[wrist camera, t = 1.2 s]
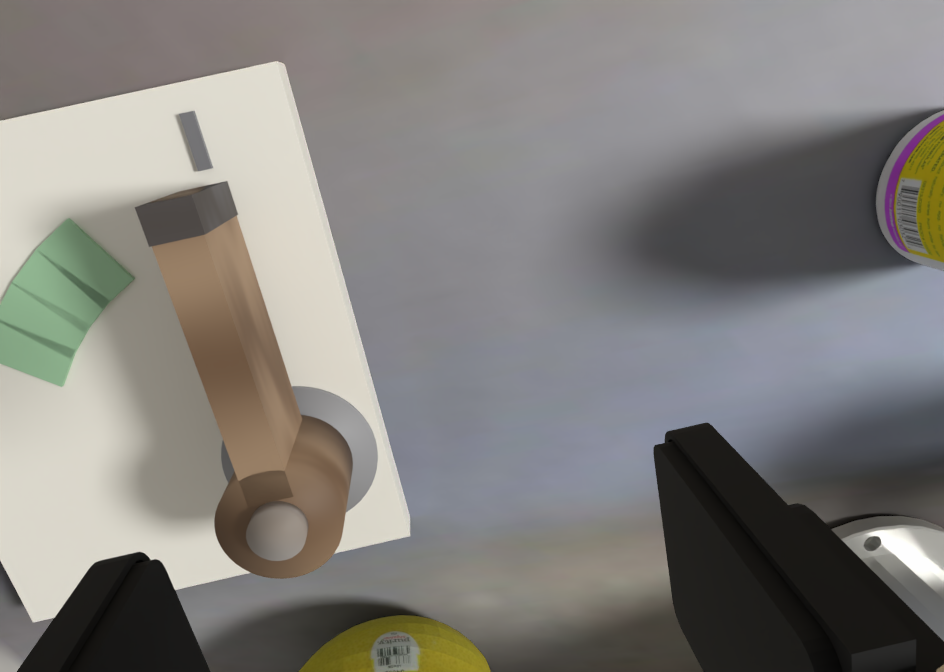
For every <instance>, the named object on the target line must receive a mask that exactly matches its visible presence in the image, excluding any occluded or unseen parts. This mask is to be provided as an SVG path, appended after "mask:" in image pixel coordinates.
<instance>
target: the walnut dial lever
mask: <svg viewBox="0 0 944 672" xmlns="http://www.w3.org/2000/svg"><path fill="white" fill-rule="evenodd" d="M135 210H136V213H137V215H138V218H139V221H140V223H141V226H142V229H143V231H144V234H145V237H146V240H147V242H148V245H149V247H151V246H152V249H153V252H154V254H155V257H156V260H157V262H158V265H159V268H160V271H161V273H162V276H163V279H164V281H165V284H166V287H167V289H168V292H169V295H170V298H171V300H172V303H173V306H174V308H175V311H176V314H177V317H178V319H179V322H180V325H181V327H182V330H183V333H184V335H185V338H186V341H187V344H188V346H189V349H190V352H191V354H192V357H193V360H194V362H195V365H196V368H197V371H198V373H199V376H200V379H201V381H202V384H203V387H204V389H205V392H206V395H207V398H208V400H209V403H210V406H211V408H212V411H213V414H214V417H215V419H216V422H217V425H218V427H219V430H220V433H221V435H222V438H223V441H224V444H225V446H226V449H227V452H228V454H229V457H230V460H231V462H232V465H233V468H234V473H233V475H232V477H231V479H230V481H229V483H228V485H227V487H226V489H225V491H224V493H223V495H222V498H221V500H220V502H219V504H218V506H217V509H216V512H215V518H214V527H215V534H216V537H217V540H218V542H219V544H220V546H221V548H222V549H223V551H224V552H225V554H226V555H227V556H228V557H229V558H230V559H231V560H232V561H233V562H234V563H235V564H237V565H238V566H240V567H241V568H243V569H245V570H247V571H249V572H251V573H253V574H256V575H259V576H263V577H268V578H280V579H282V578H293V577H298V576H301V575H305V574H307V573H310V572H312V571H314V570H316V569H317V568H319V567H321V566H322V565H323V564H325V563H326V562H327V561H328V560H329V559H330V558H331V557H332V555H333V554H334V553H335V551H336V550H337V548H338V546H339V544H340V541H341V538H342V533H343V527H344V521H345V515H346V508H347V502H348V496H349V489H350V483H351V476H352V470H353V458H352V453H351V450H350V447H349V445H348V443H347V441H346V440H345V438H344V437H343V436H342V434H341V433H340V432H339V431H338V430H337V429H335V428H334V427H333V426H331V425H330V424H328V423H327V422H325V421H322V420H320V419H318V418H314V417H311V416H305V415H301V414H300V411H299V408H298V405H297V402H296V398H295V395H294V392H293V389H292V386H291V383H290V380H289V377H288V374H287V371H286V367H285V364H284V361H283V358H282V355H281V352H280V349H279V346H278V343H277V339H276V336H275V333H274V330H273V327H272V324H271V321H270V318H269V315H268V312H267V308H266V305H265V302H264V299H263V296H262V293H261V290H260V287H259V284H258V280H257V277H256V274H255V271H254V268H253V265H252V262H251V259H250V256H249V252H248V249H247V246H246V243H245V240H244V237H243V234H242V231H241V228H240V225H239V221H238V218H237V215H238V212H237V209H236V206H235V203H234V200H233V197H232V194H231V191H230V188H229V184H228V181H225V182H220V183H215V184H211V185H206V186H202V187H197V188H193V189H188V190H183V191H179V192H176V193H174V194H171V195H168V196H165V197H162V198H159V199H157V200H154V201H151V202H148V203H145V204H143V205H140V206H137V207H135Z"/></svg>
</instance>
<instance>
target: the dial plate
mask: <svg viewBox="0 0 944 672" xmlns="http://www.w3.org/2000/svg"><path fill="white" fill-rule="evenodd" d="M225 181H228V184H229V188H230V191H231V194H232V197H233V200H234V203H235V206H236V209H237V212H238V215H237V218H238V221H239V225H240V228H241V231H242V234H243V237H244V240H245V243H246V246H247V249H248V252H249V256H250V259H251V262H252V265H253V268H254V271H255V274H256V277H257V280H258V284H259V287H260V290H261V293H262V296H263V299H264V302H265V305H266V308H267V312H268V315H269V318H270V321H271V324H272V327H273V330H274V333H275V336H276V339H277V343H278V346H279V349H280V352H281V355H282V358H283V361H284V364H285V367H286V371H287V374H288V377H289V380H290V383H291V386H292V389H293V392H294V395H295V398H296V402H297V405H298V408H299V411H300V414H301V415H305V416H311V417H314V418H318V419H320V420H322V421H325V422H327V423H328V424H330V425H331V426H333V427H334V428H335V429H337V430H338V431H339V432H340V433H341V434H342V436H343V437H344V438H345V440H346V441H347V443H348V445H349V447H350V450H351V453H352V458H353V470H352V476H351V483H350V489H349V496H348V502H347V508H346V515H345V521H344V527H343V533H342V538H341V541H340V544H339V546H338V548H337V550H336V551H335V553H338V552H343V551H347V550H351V549H356V548H360V547H365V546H369V545H373V544H378V543H382V542H386V541H391V540H395V539H399V538H404V537H408V536H410V515H409V511H408V508H407V504H406V501H405V497H404V493H403V490H402V486H401V482H400V479H399V475H398V472H397V468H396V464H395V461H394V457H393V454H392V450H391V446H390V443H389V439H388V436H387V432H386V428H385V425H384V421H383V418H382V414H381V410H380V407H379V403H378V400H377V396H376V392H375V389H374V385H373V381H372V378H371V374H370V371H369V367H368V363H367V360H366V356H365V353H364V349H363V345H362V342H361V338H360V335H359V331H358V327H357V324H356V320H355V317H354V313H353V309H352V306H351V302H350V299H349V295H348V291H347V288H346V284H345V280H344V277H343V273H342V270H341V266H340V262H339V259H338V255H337V252H336V248H335V244H334V241H333V237H332V234H331V230H330V226H329V223H328V219H327V216H326V212H325V208H324V205H323V201H322V198H321V194H320V190H319V187H318V183H317V179H316V176H315V172H314V169H313V165H312V161H311V158H310V154H309V151H308V147H307V143H306V140H305V136H304V133H303V129H302V125H301V122H300V118H299V115H298V111H297V107H296V104H295V100H294V97H293V93H292V89H291V86H290V82H289V78H288V75H287V71H286V68H285V64H283V63H280V62H278V61H276V62H271V63H266V64H262V65H257V66H252V67H248V68H243V69H239V70H234V71H229V72H225V73H220V74H215V75H211V76H206V77H202V78H197V79H192V80H188V81H183V82H178V83H174V84H169V85H164V86H160V87H155V88H151V89H146V90H141V91H137V92H132V93H127V94H123V95H118V96H113V97H109V98H104V99H100V100H95V101H90V102H86V103H81V104H76V105H72V106H67V107H63V108H58V109H53V110H49V111H44V112H39V113H35V114H30V115H25V116H21V117H16V118H12V119H7V120H2V121H0V561H1V563H2V565H3V567H4V568H5V570H6V572H7V574H8V576H9V578H10V580H11V582H12V584H13V585H14V587H15V589H16V591H17V593H18V595H19V597H20V599H21V600H22V602H23V604H24V606H25V608H26V610H27V612H28V614H29V616H30V617H31V619H32V621H33V622H37V621H42V620H46V619H50V618H55V616H56V615H57V614H58V612H59V611H60V609H61V608H62V606H63V605H64V604H65V602H66V601H67V599H68V598H69V597H70V595H71V594H72V592H73V591H74V589H75V588H76V587H77V585H78V584H79V582H80V581H81V579H82V578H83V577H84V575H85V574H86V572H87V571H88V569H89V568H90V567H91V566H92V565H93V564H94V563H95V562H98V561H100V560H105V559H109V558H114V557H118V556H122V555H127V554H131V553H136V552H142V553H145V554H146V555H147V556H148V557H149V558H150V560H154V559H157V560H160V561H161V562H162V563H163V565H164V567H165V568H166V571H167V573H168V575H169V578H170V580H171V582H172V585H173V587H174V589H175V590H177V589H181V588H186V587H190V586H194V585H199V584H203V583H208V582H212V581H216V580H221V579H225V578H229V577H234V576H238V575H242V574H247V573H251V572H249V571H247V570H245V569H243V568H241V567H240V566H238V565H237V564H235V563H234V562H233V561H232V560H231V559H230V558H229V557H228V556H227V555H226V554H225V552H224V551H223V549H222V548H221V546H220V544H219V542H218V540H217V537H216V534H215V527H214V518H215V512H216V509H217V506H218V504H219V502H220V500H221V498H222V495H223V493H224V491H225V489H226V487H227V485H228V483H229V481H230V479H231V477H232V475H233V473H234V468H233V465H232V462H231V460H230V457H229V454H228V452H227V449H226V446H225V444H224V441H223V438H222V435H221V433H220V430H219V427H218V425H217V422H216V419H215V417H214V414H213V411H212V408H211V406H210V403H209V400H208V398H207V395H206V392H205V389H204V387H203V384H202V381H201V379H200V376H199V373H198V371H197V368H196V365H195V362H194V360H193V357H192V354H191V352H190V349H189V346H188V344H187V341H186V338H185V335H184V333H183V330H182V327H181V325H180V322H179V319H178V317H177V314H176V311H175V308H174V306H173V303H172V300H171V298H170V295H169V292H168V289H167V287H166V284H165V281H164V279H163V276H162V273H161V271H160V268H159V265H158V262H157V260H156V257H155V254H154V252H153V249H152V246H151V247H149V245H148V242H147V240H146V237H145V234H144V231H143V229H142V226H141V223H140V221H139V218H138V215H137V213H136V210H135V207H137V206H140V205H143V204H145V203H148V202H151V201H154V200H157V199H159V198H162V197H165V196H168V195H171V194H174V193H176V192H179V191H183V190H188V189H193V188H197V187H202V186H206V185H211V184H215V183H220V182H225Z"/></svg>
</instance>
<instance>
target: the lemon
mask: <svg viewBox="0 0 944 672" xmlns="http://www.w3.org/2000/svg"><path fill="white" fill-rule="evenodd" d="M298 672H491V670H490V668H489V665H488V663H487V661H486V659H485V657H484V656H483V654H482V653H481V652H480V651H479V650H478V649H477V648H476V647H475V645H474V644H473V643H472V642H471V641H470V640H469V639H468V638H466V637H465V636H464V635H462V634H461V633H460V632H458V631H457V630H455V629H453V628H451V627H449V626H448V625H446V624H444V623H441V622H438V621H436V620H433V619H430V618H425V617H419V616H409V615H397V616H388V617H382V618H378V619H374V620H369V621H367V622H364V623H361V624H358V625H356V626H353V627H352V628H350V629H348V630H346V631H344V632H342V633H341V634H339V635H337V636H336V637H334V638H333V639H332V640H330V641H329V642H327V643H326V644H324V645H323V646H322V647H321V648H320V649H319V650H318V651H317V652H316V653H315V654H314V655H313V656H312V657H311V658H310V659H309V660H308V661H307V662H306V663H305V665H304V666H303V667H302V668H301V669H300V671H298Z"/></svg>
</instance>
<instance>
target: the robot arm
mask: <svg viewBox="0 0 944 672" xmlns="http://www.w3.org/2000/svg"><path fill="white" fill-rule="evenodd" d="M654 461H655V469H656V476H657V484H658V492H659V499H660V507H661V515H662V522H663V530H664V538H665V545H666V553H667V561H668V568H669V576H670V584H671V591H672V599H673V605H674V609H675V613H676V616H677V619H678V622H679V624H680V627H681V629H682V631H683V633H684V635H685V637H686V639H687V641H688V642H689V644H690V646H691V648H692V650H693V652H694V654H695V656H696V658H697V660H698V662H699V663H700V665H701V667H702V669H703V671H704V672H944V529H943V528H942V527H940V526H938V525H935V524H933V523H930V522H927V521H925V520H922V519H917V518H911V517H905V516H877V517H872V518H867V519H861V520H856V521H853V522H850V523H847V524H844V525H841V526H839V527H836V528H833V529H830V528H829V527H828V526H827V525H826V524H825V523H824V522H823V521H822V520H821V519H820V518H819V517H818V516H817V515H816V514H815V513H814V512H813V511H812V510H810V509H809V508H808V507H806V506H805V505H802V504H798V503H797V504H793V505H787V504H786V503H785V502H784V501H783V499H782V498H781V497H780V496H779V495H778V494H777V493H776V492H775V491H774V490H773V489H772V488H771V487H770V486H769V485H768V484H767V483H766V482H765V481H764V480H763V479H762V478H761V477H760V475H759V474H758V473H757V472H756V471H755V470H754V469H753V468H752V467H751V466H750V465H749V464H748V463H747V462H746V461H745V460H744V459H743V458H742V457H741V456H740V455H739V454H738V453H737V451H736V450H735V449H734V448H733V447H732V446H731V445H730V444H729V443H728V442H727V441H726V440H725V439H724V438H723V437H722V436H721V435H720V434H719V433H718V432H717V431H716V430H715V429H714V427H713V426H711V425H710V424H709V423H703V424H698V425H694V426H690V427H685V428H681V429H676V430H672V431H668V432H667V433H666V434H665V443H663V444H658V445H655V446H654ZM17 672H210V670H209V668H208V665H207V663H206V661H205V659H204V656H203V654H202V652H201V649H200V647H199V645H198V642H197V640H196V638H195V635H194V633H193V631H192V628H191V626H190V624H189V622H188V619H187V617H186V615H185V612H184V610H183V608H182V605H181V603H180V601H179V598H178V596H177V594H176V591H175V589H174V587H173V585H172V582H171V580H170V578H169V575H168V573H167V571H166V568H165V567H164V565H163V563H162V562H161V561H160V560H157V559H154V560H150V558H149V557H148V556H147V555H146V554H145V553H142V552H136V553H131V554H127V555H122V556H118V557H114V558H109V559H105V560H100V561H98V562H95V563H94V564H93V565H92V566H91V567H90V568H89V569H88V571H87V572H86V574H85V575H84V577H83V578H82V579H81V581H80V582H79V584H78V585H77V587H76V588H75V589H74V591H73V592H72V594H71V595H70V597H69V598H68V599H67V601H66V602H65V604H64V605H63V606H62V608H61V609H60V611H59V612H58V614H57V615H56V616H55V618H54V619H53V621H52V622H51V624H50V625H49V626H48V628H47V629H46V631H45V632H44V634H43V635H42V636H41V638H40V639H39V641H38V642H37V644H36V645H35V646H34V648H33V649H32V651H31V652H30V654H29V655H28V656H27V658H26V659H25V661H24V662H23V663H22V665H21V666H20V668H19V669H18V671H17Z"/></svg>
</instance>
